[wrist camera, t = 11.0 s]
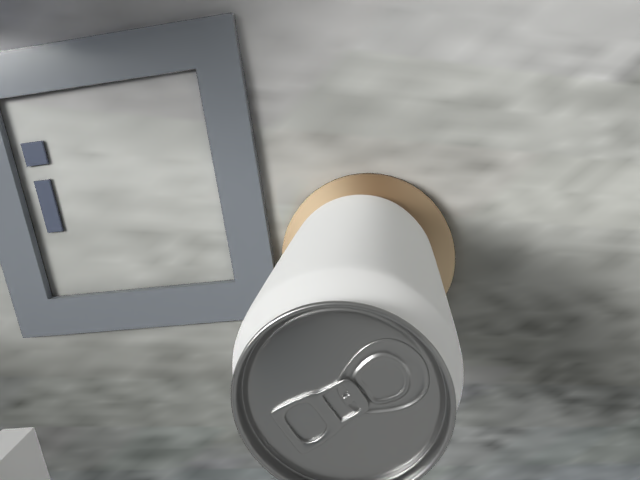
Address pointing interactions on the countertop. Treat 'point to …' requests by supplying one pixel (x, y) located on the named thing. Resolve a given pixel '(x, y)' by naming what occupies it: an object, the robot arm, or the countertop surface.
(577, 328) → the countertop surface
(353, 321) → the can
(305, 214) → the coaster
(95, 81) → the frame
